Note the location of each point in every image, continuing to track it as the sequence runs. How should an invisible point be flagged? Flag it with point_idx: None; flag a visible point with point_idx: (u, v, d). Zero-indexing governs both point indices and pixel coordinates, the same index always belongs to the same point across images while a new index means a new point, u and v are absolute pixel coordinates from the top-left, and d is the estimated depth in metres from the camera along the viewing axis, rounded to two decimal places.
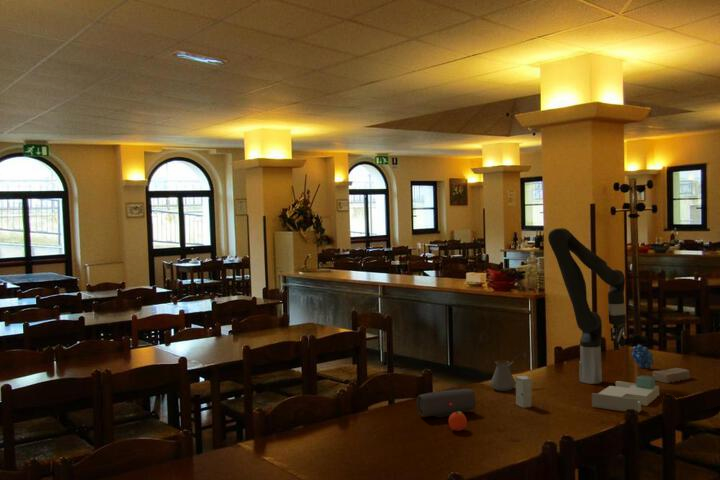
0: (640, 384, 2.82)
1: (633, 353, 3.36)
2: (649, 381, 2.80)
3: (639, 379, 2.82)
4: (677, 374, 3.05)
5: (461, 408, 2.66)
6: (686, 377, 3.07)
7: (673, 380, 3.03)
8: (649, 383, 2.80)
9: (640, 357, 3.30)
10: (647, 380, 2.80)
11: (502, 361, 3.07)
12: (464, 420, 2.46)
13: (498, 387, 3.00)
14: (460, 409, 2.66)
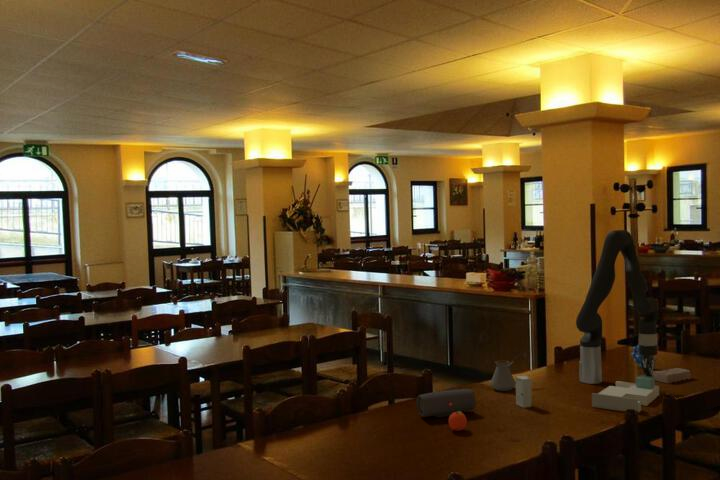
0: (640, 384, 2.82)
1: (633, 353, 3.36)
2: (649, 381, 2.80)
3: (639, 379, 2.82)
4: (678, 374, 3.04)
5: (461, 408, 2.66)
6: (687, 377, 3.07)
7: (673, 380, 3.03)
8: (649, 383, 2.80)
9: (640, 357, 3.30)
10: (647, 380, 2.80)
11: (502, 361, 3.07)
12: (464, 420, 2.46)
13: (498, 387, 3.00)
14: (460, 409, 2.66)
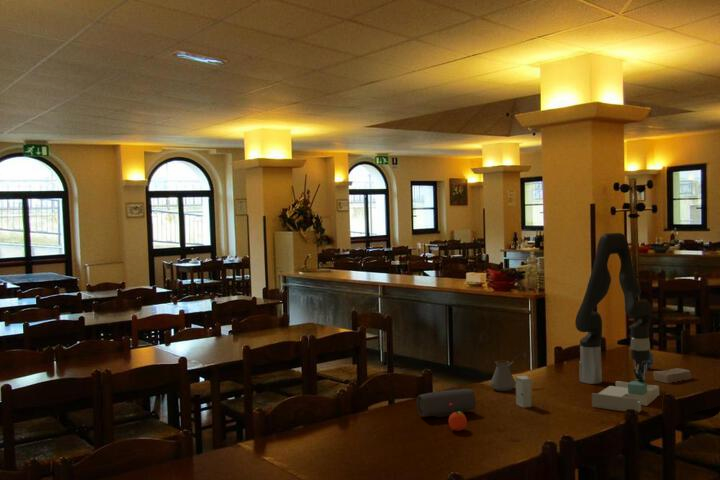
0: (632, 390, 2.73)
1: None
2: (641, 387, 2.71)
3: (631, 385, 2.73)
4: (678, 374, 3.04)
5: (461, 408, 2.66)
6: (687, 377, 3.07)
7: (674, 380, 3.03)
8: (641, 389, 2.71)
9: None
10: (639, 386, 2.71)
11: (502, 361, 3.07)
12: (464, 420, 2.46)
13: (498, 387, 3.00)
14: (460, 409, 2.66)
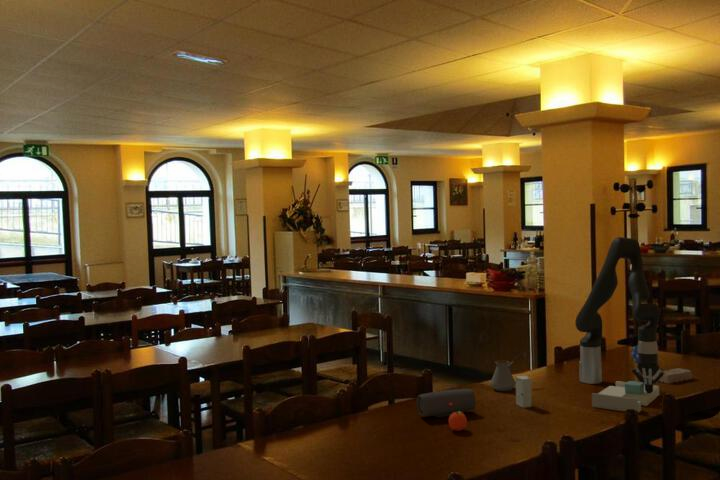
0: (629, 390, 2.73)
1: (633, 353, 3.36)
2: (638, 387, 2.71)
3: (628, 385, 2.73)
4: (678, 374, 3.04)
5: (461, 408, 2.66)
6: (688, 378, 3.06)
7: (674, 380, 3.03)
8: (638, 389, 2.71)
9: None
10: (636, 386, 2.71)
11: (502, 361, 3.07)
12: (464, 420, 2.46)
13: (498, 387, 3.00)
14: (460, 409, 2.66)
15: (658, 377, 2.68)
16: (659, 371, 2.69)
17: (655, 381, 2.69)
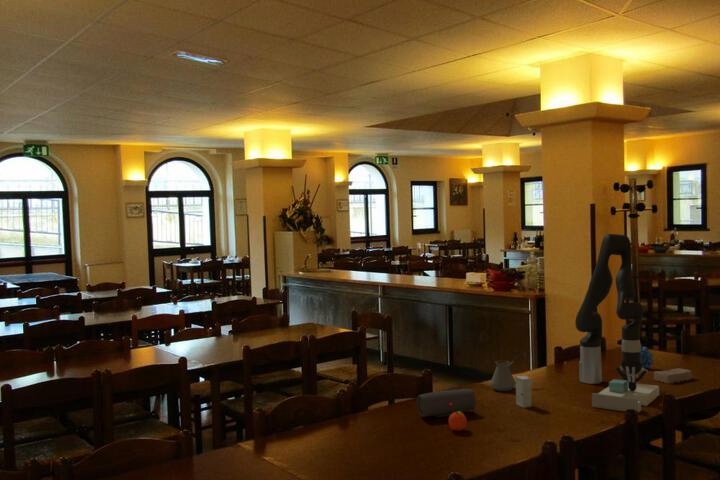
0: (613, 389, 2.77)
1: None
2: (622, 385, 2.75)
3: (612, 383, 2.78)
4: (679, 374, 3.04)
5: (461, 408, 2.66)
6: (688, 378, 3.06)
7: (674, 380, 3.03)
8: (622, 387, 2.75)
9: None
10: (620, 384, 2.76)
11: (502, 361, 3.07)
12: (464, 420, 2.46)
13: (498, 387, 3.00)
14: (460, 409, 2.66)
15: (641, 375, 2.73)
16: (642, 369, 2.73)
17: (638, 379, 2.73)
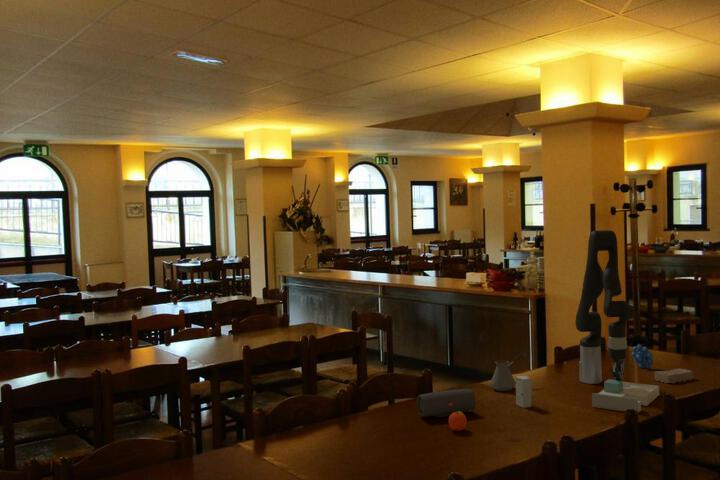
0: (608, 389, 2.78)
1: (633, 353, 3.36)
2: (617, 385, 2.76)
3: (607, 383, 2.78)
4: (679, 375, 3.03)
5: (461, 408, 2.66)
6: (689, 378, 3.06)
7: (675, 381, 3.02)
8: (617, 387, 2.76)
9: (640, 357, 3.30)
10: (615, 384, 2.76)
11: (502, 361, 3.07)
12: (464, 420, 2.46)
13: (498, 387, 3.00)
14: (460, 409, 2.66)
15: (624, 368, 2.86)
16: None
17: (623, 373, 2.85)
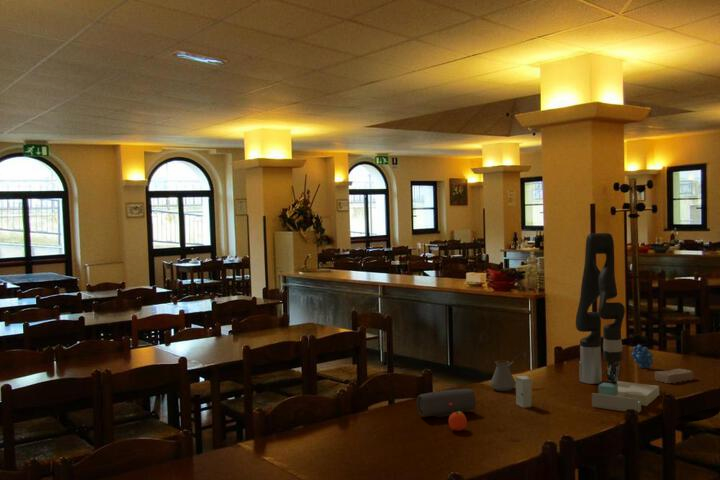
0: (603, 392, 2.73)
1: (633, 353, 3.36)
2: (611, 389, 2.71)
3: (601, 387, 2.73)
4: (679, 375, 3.03)
5: (461, 408, 2.66)
6: (689, 378, 3.06)
7: (675, 381, 3.02)
8: (611, 391, 2.71)
9: (640, 357, 3.30)
10: (609, 388, 2.71)
11: (502, 361, 3.07)
12: (464, 420, 2.46)
13: (498, 387, 3.00)
14: (460, 409, 2.66)
15: (619, 371, 2.81)
16: None
17: (618, 376, 2.80)
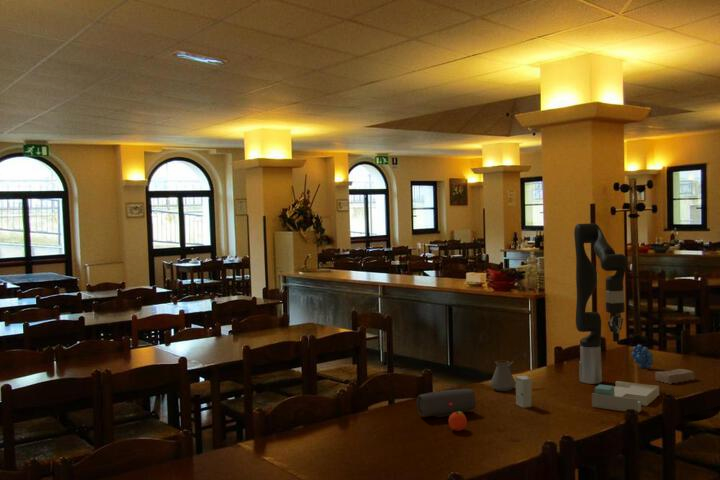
0: None
1: (633, 353, 3.36)
2: (608, 391, 2.68)
3: (597, 389, 2.70)
4: (680, 375, 3.03)
5: (461, 408, 2.66)
6: (690, 378, 3.05)
7: (676, 381, 3.02)
8: (608, 394, 2.68)
9: (640, 357, 3.30)
10: (605, 390, 2.68)
11: (502, 361, 3.07)
12: (464, 420, 2.46)
13: (498, 387, 3.00)
14: (460, 409, 2.66)
15: (621, 323, 2.81)
16: None
17: None
